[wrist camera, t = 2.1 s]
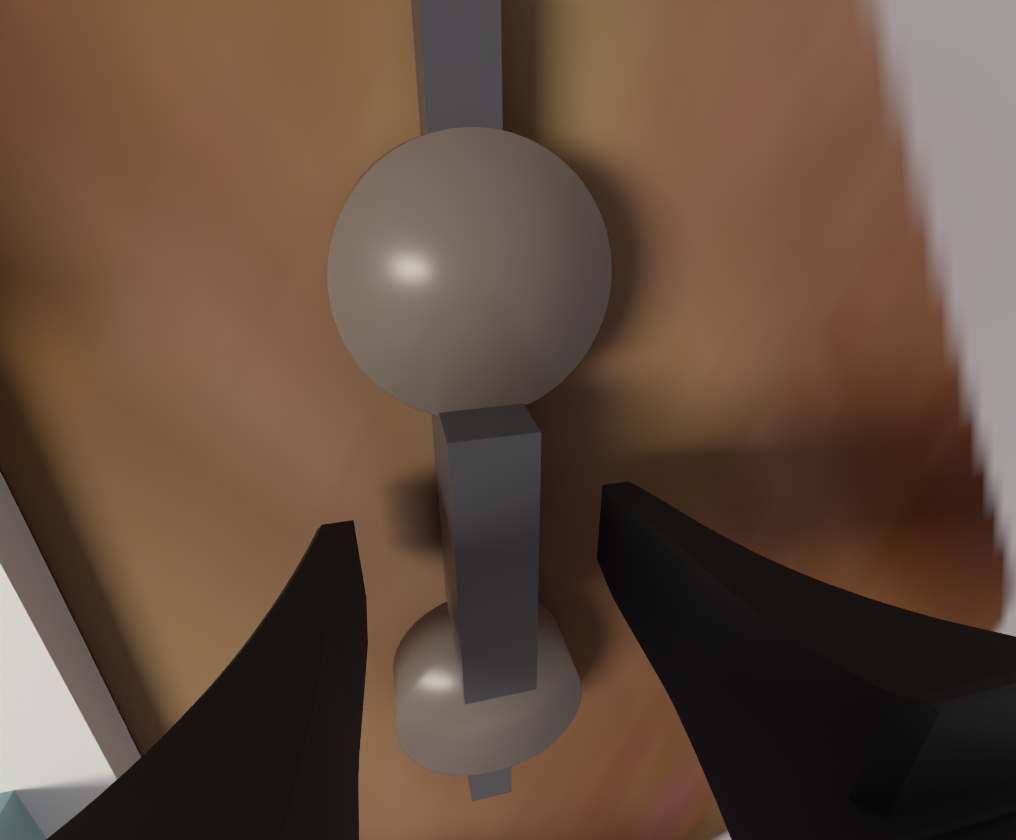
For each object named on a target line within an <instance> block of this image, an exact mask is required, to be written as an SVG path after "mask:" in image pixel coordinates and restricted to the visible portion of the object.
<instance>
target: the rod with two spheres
mask: <svg viewBox="0 0 1016 840" xmlns="http://www.w3.org/2000/svg"><path fill="white" fill-rule="evenodd" d="M411 2H412V16H413V30H414V44H415V58H416V72H417V86H418V100H419V114H420V128H421V136H420V137H417V138H415V139H412V140H410V141H407V142H405V143H402V144H401V145H399V146H397V147H396V148H394V149H392V150H390V151H389V152H387V153H386V154H385V155H383V156H382V157H381V158H380V159H378V160H377V161H376V162H375V163H374V164H373V165H372V166H371V167H370V168H369V169H368V170H367V171H366V172H365V173H364V174H363V175H362V176H361V178H360V179H359V181H358V182H357V184H356V185H355V186H354V188H353V189H352V191H351V193H350V195H349V197H348V199H347V201H346V203H345V205H344V207H343V209H342V211H341V213H340V216H339V218H338V221H337V224H336V227H335V230H334V233H333V236H332V240H331V245H330V251H329V256H328V271H327V283H328V294H329V301H330V306H331V310H332V314H333V318H334V321H335V324H336V326H337V329H338V332H339V335H340V337H341V339H342V341H343V342H344V344H345V346H346V348H347V350H348V352H349V353H350V355H351V356H352V358H353V359H354V360H355V362H356V363H357V365H358V366H359V367H360V369H361V370H362V371H363V372H364V373H365V374H366V375H367V376H368V377H369V378H370V379H371V380H372V381H373V382H374V383H375V384H376V385H378V386H379V387H380V388H381V389H382V390H384V391H385V392H386V393H388V394H389V395H391V396H392V397H394V398H395V399H397V400H399V401H400V402H402V403H404V404H407V405H409V406H411V407H413V408H415V409H418V410H421V411H424V412H427V413H430V414H432V423H433V436H434V448H435V461H436V473H437V486H438V498H439V511H440V523H441V536H442V548H443V561H444V573H445V586H446V598H447V602H446V603H444V604H442V605H440V606H438V607H436V608H435V609H433V610H431V611H430V612H429V613H427V614H426V615H424V616H423V617H422V618H421V619H419V620H418V621H417V622H416V623H415V624H414V625H413V626H412V627H411V628H410V629H409V631H408V632H407V633H406V634H405V636H404V637H403V639H402V640H401V642H400V644H399V646H398V648H397V651H396V654H395V657H394V665H393V668H394V687H395V707H396V726H397V737H398V741H399V744H400V746H401V748H402V750H403V751H404V752H405V754H406V755H407V756H408V757H409V758H410V759H411V760H412V761H414V762H415V763H417V764H418V765H420V766H421V767H424V768H426V769H428V770H431V771H434V772H438V773H442V774H448V775H468V778H469V784H470V790H471V796H472V801H476V800H480V799H484V798H488V797H492V796H496V795H500V794H504V793H508V792H511V766H513V765H516V764H518V763H521V762H523V761H525V760H527V759H529V758H531V757H532V756H534V755H536V754H538V753H539V752H541V751H542V750H544V749H545V748H546V747H548V746H549V745H550V744H551V743H553V742H554V741H555V740H556V739H557V738H558V737H559V736H560V735H561V734H562V733H563V732H564V731H565V730H566V728H567V727H568V726H569V724H570V723H571V721H572V720H573V718H574V716H575V714H576V712H577V710H578V708H579V705H580V701H581V694H582V692H581V682H580V678H579V676H578V673H577V671H576V668H575V666H574V663H573V661H572V658H571V656H570V653H569V651H568V648H567V646H566V644H565V641H564V639H563V636H562V634H561V631H560V629H559V626H558V624H557V622H556V619H555V618H554V616H553V615H552V613H551V612H550V611H549V610H548V609H547V608H546V607H545V606H544V605H542V604H541V603H539V602H538V588H539V535H540V482H541V431H540V429H539V427H538V426H537V424H536V423H535V421H534V419H533V418H532V416H531V415H530V413H529V412H528V410H527V408H526V407H525V406H526V405H528V404H530V403H532V402H534V401H536V400H537V399H539V398H541V397H543V396H544V395H546V394H547V393H548V392H550V391H551V390H552V389H554V388H555V387H557V386H558V385H559V384H560V383H561V382H562V381H563V380H564V379H565V378H566V377H568V376H569V375H570V374H571V372H572V371H573V370H574V369H575V368H576V367H577V366H578V364H579V363H580V362H581V361H582V359H583V358H584V356H585V355H586V353H587V352H588V350H589V349H590V347H591V346H592V344H593V342H594V340H595V338H596V336H597V334H598V332H599V330H600V327H601V325H602V322H603V319H604V317H605V313H606V309H607V306H608V302H609V297H610V290H611V282H612V259H611V250H610V243H609V239H608V235H607V230H606V226H605V224H604V221H603V218H602V216H601V213H600V210H599V208H598V206H597V204H596V203H595V201H594V199H593V197H592V195H591V193H590V192H589V190H588V189H587V187H586V186H585V185H584V183H583V182H582V181H581V179H580V178H579V176H578V175H577V174H576V173H575V172H574V171H573V170H572V169H571V168H570V167H569V166H568V165H567V164H566V163H565V162H564V161H563V160H561V159H560V158H559V157H558V156H556V155H555V154H554V153H552V152H551V151H550V150H548V149H547V148H545V147H543V146H541V145H540V144H538V143H536V142H534V141H532V140H530V139H528V138H525V137H523V136H520V135H517V134H515V133H512V132H508V131H503V114H502V37H501V0H411Z"/></svg>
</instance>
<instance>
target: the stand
mask: <svg viewBox="0 0 1016 840" xmlns="http://www.w3.org/2000/svg"><path fill="white" fill-rule="evenodd" d="M140 758H141V756H140V754H139V752H138V750H137V748H136V746H135V744H134V742H133V740H132V738H131V736H130V734H129V732H128V730H127V727H126V725H125V723H124V721H123V719H122V717H121V715H120V713H119V711H118V709H117V707H116V705H115V703H114V701H113V699H112V697H111V695H110V693H109V691H108V689H107V687H106V685H105V683H104V681H103V679H102V677H101V675H100V673H99V671H98V669H97V667H96V665H95V662H94V660H93V658H92V656H91V654H90V652H89V650H88V648H87V646H86V644H85V642H84V640H83V638H82V636H81V634H80V632H79V630H78V628H77V626H76V624H75V622H74V620H73V618H72V616H71V614H70V612H69V610H68V608H67V606H66V604H65V602H64V599H63V597H62V595H61V593H60V591H59V589H58V587H57V585H56V583H55V581H54V579H53V577H52V575H51V573H50V571H49V569H48V567H47V565H46V563H45V561H44V559H43V557H42V555H41V553H40V551H39V549H38V547H37V545H36V543H35V541H34V539H33V537H32V534H31V532H30V530H29V528H28V526H27V524H26V522H25V520H24V518H23V516H22V514H21V512H20V510H19V508H18V506H17V504H16V502H15V500H14V498H13V496H12V494H11V492H10V490H9V488H8V486H7V484H6V482H5V480H4V478H3V476H2V474H1V472H0V840H46V839H47V838H48V837H50V836H51V835H52V834H53V833H55V832H56V831H57V830H58V829H60V828H61V827H62V826H63V825H64V824H66V823H67V822H68V821H69V820H71V819H72V818H73V817H74V816H76V815H77V814H78V813H79V812H80V811H82V810H83V809H84V808H85V807H86V806H87V805H89V804H90V803H91V802H92V801H93V800H94V799H96V798H97V797H98V796H99V795H100V794H101V793H102V792H104V791H105V790H106V789H107V788H108V787H109V786H110V785H111V784H112V783H114V782H115V781H116V780H117V779H118V778H119V777H120V776H121V775H123V774H124V773H125V772H126V771H127V770H128V769H129V768H130V767H131V766H132V765H133V764H134V763H136V762H137V761H138V760H139V759H140Z"/></svg>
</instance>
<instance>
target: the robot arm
mask: <svg viewBox="0 0 1016 840" xmlns="http://www.w3.org/2000/svg"><path fill="white" fill-rule="evenodd" d="M597 560H598V562H599V565H600V567H601V570H602V572H603V575H604V577H605V580H606V582H607V585H608V587H609V589H610V592H611V594H612V596H613V598H614V600H615V602H616V604H617V606H618V607H619V609H620V611H621V613H622V615H623V616H624V618H625V620H626V622H627V623H628V625H629V627H630V629H631V630H632V632H633V634H634V635H635V637H636V639H637V641H638V642H639V644H640V646H641V648H642V649H643V651H644V653H645V654H646V656H647V658H648V660H649V661H650V663H651V665H652V667H653V668H654V670H655V672H656V673H657V675H658V677H659V679H660V680H661V682H662V684H663V686H664V687H665V689H666V691H667V693H668V695H669V697H670V699H671V701H672V703H673V705H674V706H675V709H676V711H677V713H678V715H679V717H680V720H681V722H682V724H683V726H684V728H685V731H686V733H687V735H688V737H689V739H690V742H691V744H692V746H693V748H694V750H695V753H696V755H697V757H698V760H699V762H700V764H701V767H702V769H703V771H704V774H705V776H706V778H707V781H708V783H709V785H710V788H711V790H712V792H713V795H714V797H715V799H716V802H717V804H718V807H719V809H720V812H721V814H722V817H723V819H724V822H725V824H726V827H727V829H728V832H729V834H730V837H731V839H732V840H1016V637H1014V636H1010V635H1006V634H1001V633H997V632H993V631H988V630H984V629H980V628H975V627H971V626H967V625H963V624H958V623H954V622H950V621H945V620H941V619H937V618H934V617H930V616H926V615H923V614H919V613H916V612H912V611H909V610H905V609H902V608H898V607H895V606H892V605H888V604H885V603H882V602H879V601H876V600H873V599H869V598H866V597H863V596H860V595H858V594H855V593H852V592H849V591H846V590H844V589H841V588H838V587H835V586H832V585H830V584H827V583H824V582H822V581H819V580H817V579H814V578H811V577H809V576H806V575H804V574H802V573H799V572H797V571H795V570H792V569H790V568H788V567H785V566H783V565H781V564H779V563H776V562H774V561H772V560H769V559H767V558H765V557H763V556H761V555H759V554H757V553H755V552H753V551H751V550H749V549H747V548H745V547H743V546H741V545H739V544H737V543H735V542H733V541H731V540H729V539H727V538H726V537H724V536H722V535H720V534H718V533H716V532H715V531H713V530H711V529H709V528H708V527H706V526H704V525H702V524H700V523H699V522H697V521H695V520H694V519H692V518H690V517H688V516H687V515H685V514H683V513H682V512H680V511H678V510H677V509H675V508H673V507H672V506H670V505H668V504H667V503H665V502H663V501H662V500H660V499H658V498H657V497H655V496H653V495H652V494H650V493H648V492H647V491H645V490H643V489H641V488H640V487H638V486H636V485H634V484H632V483H630V482H621V483H614V484H607V485H603V487H602V500H601V512H600V525H599V538H598V551H597ZM367 647H368V636H367V608H366V594H365V588H364V582H363V576H362V570H361V564H360V557H359V551H358V545H357V539H356V533H355V527H354V521H353V520H352V521H345V522H338V523H331V524H324V525H321V527H320V528H319V529H318V530H317V531H316V534H315V536H314V538H313V539H312V541H311V543H310V545H309V547H308V549H307V551H306V553H305V554H304V556H303V558H302V560H301V561H300V563H299V565H298V567H297V568H296V570H295V572H294V573H293V575H292V577H291V578H290V580H289V581H288V583H287V584H286V586H285V588H284V589H283V591H282V592H281V594H280V596H279V597H278V599H277V600H276V602H275V603H274V605H273V606H272V608H271V609H270V610H269V612H268V613H267V615H266V616H265V617H264V619H263V620H262V622H261V623H260V624H259V626H258V627H257V629H256V630H255V631H254V633H253V634H252V636H251V637H250V638H249V640H248V641H247V642H246V644H245V645H244V646H243V647H242V649H241V650H240V651H239V653H238V654H237V655H236V656H235V658H234V659H233V660H232V661H231V662H230V664H229V665H228V666H227V667H226V668H225V670H224V671H223V672H222V673H221V674H220V676H219V677H218V678H217V679H216V680H215V681H214V683H213V684H212V685H211V686H210V687H209V688H208V689H207V690H206V692H205V693H204V694H203V695H202V696H201V697H200V698H199V699H198V700H197V701H196V702H195V703H194V705H193V706H192V707H191V708H190V709H189V710H188V711H187V712H186V713H185V714H184V715H183V716H182V717H181V719H180V720H179V721H178V722H177V723H176V724H175V725H174V726H173V727H172V728H171V729H170V730H169V731H168V732H167V733H166V734H165V735H164V736H163V737H162V738H161V739H160V740H159V741H158V742H157V743H156V744H155V745H154V746H153V747H152V748H151V749H149V750H148V751H147V752H146V753H145V754H144V755H143V756H142V757H141V758H140V759H139V760H138V761H137V762H136V763H134V764H133V765H132V766H131V767H130V768H129V769H128V770H127V771H126V772H125V773H124V774H123V775H121V776H120V777H119V778H118V779H117V780H116V781H115V782H114V783H112V784H111V785H110V786H109V787H108V788H107V789H106V790H105V791H104V792H102V793H101V794H100V795H99V796H98V797H97V798H96V799H94V800H93V801H92V802H91V803H90V804H89V805H87V806H86V807H85V808H84V809H83V810H82V811H80V812H79V813H78V814H77V815H76V816H74V817H73V818H72V819H71V820H69V821H68V822H67V823H66V824H64V825H63V826H62V827H61V828H60V829H58V830H57V831H56V832H55V833H53V834H52V835H51V836H50V837H48V838H47V839H46V840H359V808H358V771H359V750H360V737H361V725H362V712H363V699H364V687H365V674H366V661H367Z"/></svg>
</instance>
